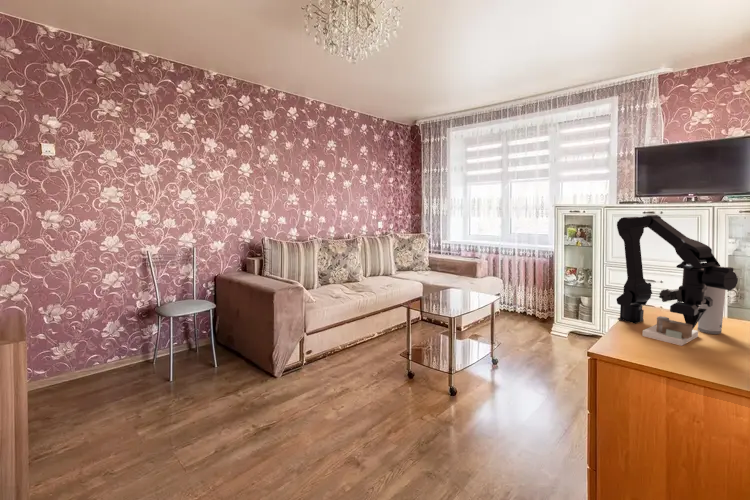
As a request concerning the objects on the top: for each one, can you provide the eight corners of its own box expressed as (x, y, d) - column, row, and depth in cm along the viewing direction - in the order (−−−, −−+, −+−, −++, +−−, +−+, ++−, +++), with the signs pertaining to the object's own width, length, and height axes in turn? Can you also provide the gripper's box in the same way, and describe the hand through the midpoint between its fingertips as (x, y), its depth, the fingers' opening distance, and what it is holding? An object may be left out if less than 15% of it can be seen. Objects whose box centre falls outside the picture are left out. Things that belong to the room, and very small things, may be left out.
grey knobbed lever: (654, 330, 128) (655, 317, 127) (659, 328, 130) (659, 315, 129) (687, 338, 120) (688, 324, 120) (691, 336, 122) (692, 322, 121)
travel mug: (727, 334, 129) (732, 276, 126) (704, 334, 130) (709, 276, 127) (714, 328, 135) (719, 273, 132) (693, 327, 136) (697, 272, 134)
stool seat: (642, 335, 130) (643, 324, 129) (659, 327, 137) (660, 317, 137) (681, 345, 121) (682, 333, 120) (698, 336, 128) (699, 325, 128)
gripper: (674, 275, 135) (671, 318, 137) (652, 283, 124) (649, 329, 127) (715, 280, 126) (711, 326, 128) (695, 289, 115) (691, 339, 117)
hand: (689, 330), depth 125 cm, fingers closed
